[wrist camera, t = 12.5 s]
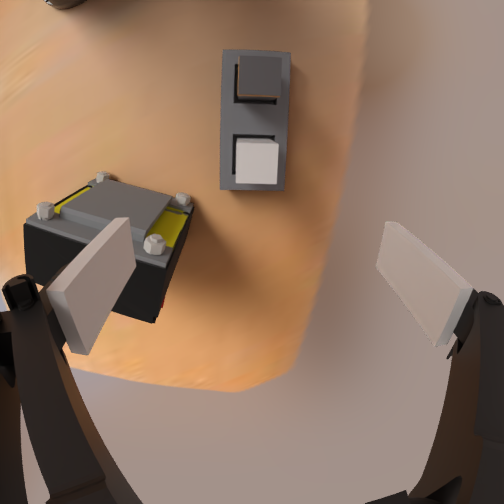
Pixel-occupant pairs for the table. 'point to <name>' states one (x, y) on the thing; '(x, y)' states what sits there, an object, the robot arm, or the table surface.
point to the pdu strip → (251, 120)
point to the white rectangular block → (256, 160)
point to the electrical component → (95, 220)
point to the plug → (259, 78)
